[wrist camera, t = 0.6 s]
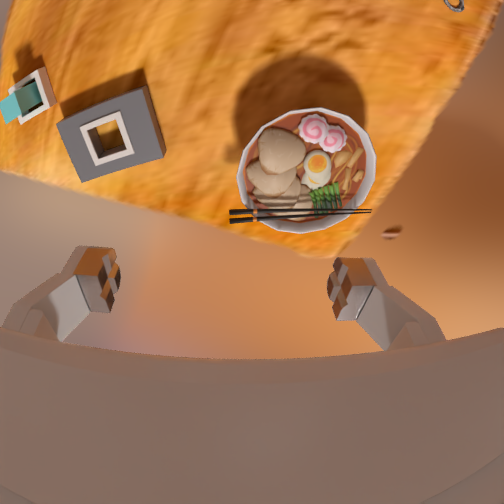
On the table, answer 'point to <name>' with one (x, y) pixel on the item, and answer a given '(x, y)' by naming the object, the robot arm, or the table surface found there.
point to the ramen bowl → (305, 171)
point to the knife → (458, 9)
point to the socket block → (131, 127)
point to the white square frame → (44, 90)
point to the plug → (20, 101)
